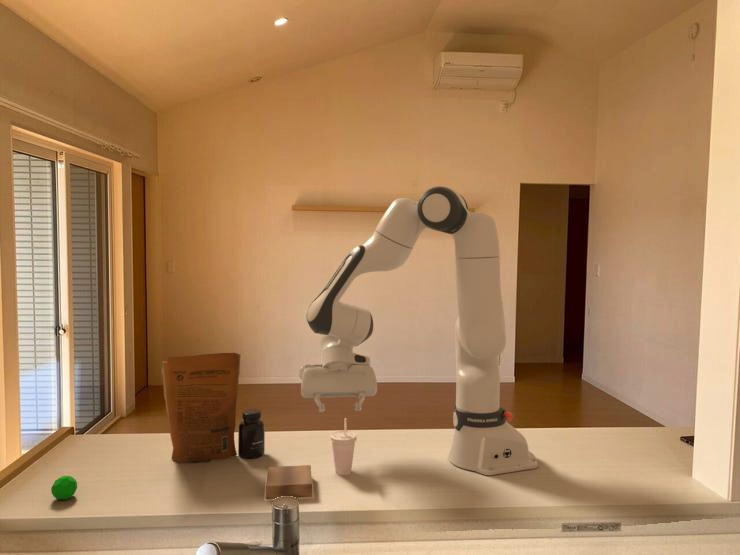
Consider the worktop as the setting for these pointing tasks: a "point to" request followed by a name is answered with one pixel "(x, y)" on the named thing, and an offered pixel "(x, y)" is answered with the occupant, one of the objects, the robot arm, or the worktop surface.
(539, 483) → the worktop surface
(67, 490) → the polyhedron
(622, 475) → the worktop surface
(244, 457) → the supplement bottle
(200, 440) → the pancake mix bag
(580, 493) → the worktop surface
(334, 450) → the smoothie
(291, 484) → the base block
